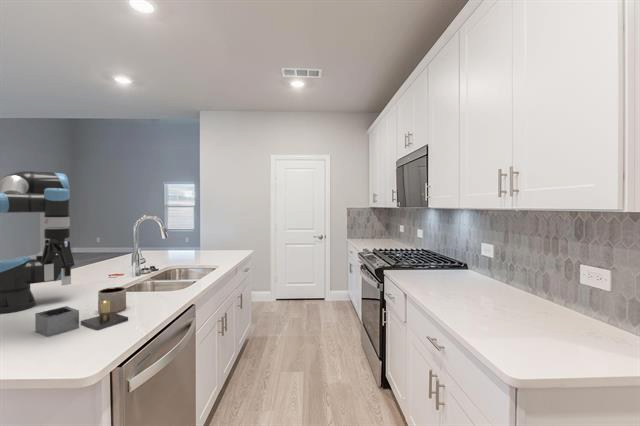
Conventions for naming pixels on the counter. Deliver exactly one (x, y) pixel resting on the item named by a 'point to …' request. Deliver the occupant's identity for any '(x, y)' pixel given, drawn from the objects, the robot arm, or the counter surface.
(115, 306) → the planter
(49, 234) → the robot arm
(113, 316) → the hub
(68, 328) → the collar
